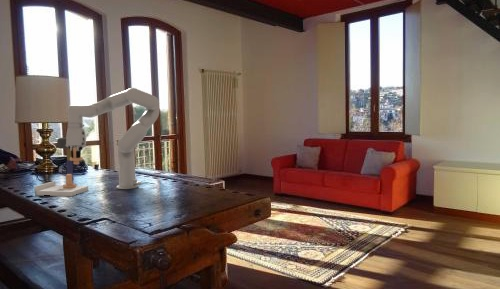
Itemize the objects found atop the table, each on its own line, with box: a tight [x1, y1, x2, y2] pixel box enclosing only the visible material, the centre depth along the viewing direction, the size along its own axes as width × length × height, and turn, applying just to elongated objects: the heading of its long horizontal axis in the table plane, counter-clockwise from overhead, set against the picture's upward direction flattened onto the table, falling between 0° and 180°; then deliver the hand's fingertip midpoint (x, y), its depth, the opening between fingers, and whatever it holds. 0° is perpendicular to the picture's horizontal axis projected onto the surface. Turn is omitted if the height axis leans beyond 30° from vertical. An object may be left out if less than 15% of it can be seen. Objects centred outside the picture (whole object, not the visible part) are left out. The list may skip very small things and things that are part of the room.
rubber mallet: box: [56, 136, 77, 182], centre depth 241 cm, size 12×8×30 cm, turn 140°
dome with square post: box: [70, 147, 83, 165], centre depth 213 cm, size 7×7×10 cm
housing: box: [34, 174, 89, 197], centre depth 209 cm, size 22×16×10 cm
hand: (76, 157), depth 213 cm, fingers closed on dome with square post
